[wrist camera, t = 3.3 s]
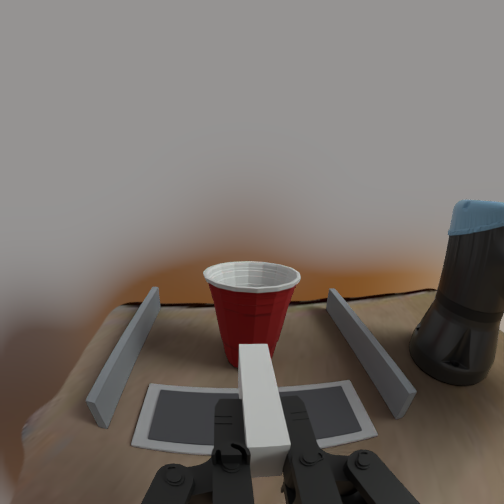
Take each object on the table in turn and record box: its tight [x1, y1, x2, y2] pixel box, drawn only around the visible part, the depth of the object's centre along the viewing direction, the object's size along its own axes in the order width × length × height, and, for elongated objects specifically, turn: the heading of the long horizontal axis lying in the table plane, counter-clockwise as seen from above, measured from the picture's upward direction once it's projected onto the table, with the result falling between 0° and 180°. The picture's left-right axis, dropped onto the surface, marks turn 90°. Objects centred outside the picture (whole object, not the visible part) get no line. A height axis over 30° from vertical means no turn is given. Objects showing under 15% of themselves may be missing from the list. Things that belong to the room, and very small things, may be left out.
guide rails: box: [85, 287, 417, 429], centre depth 32 cm, size 31×26×4 cm
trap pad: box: [131, 380, 378, 455], centre depth 23 cm, size 23×9×1 cm, turn 94°
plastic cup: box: [203, 261, 301, 368], centre depth 32 cm, size 11×11×12 cm
